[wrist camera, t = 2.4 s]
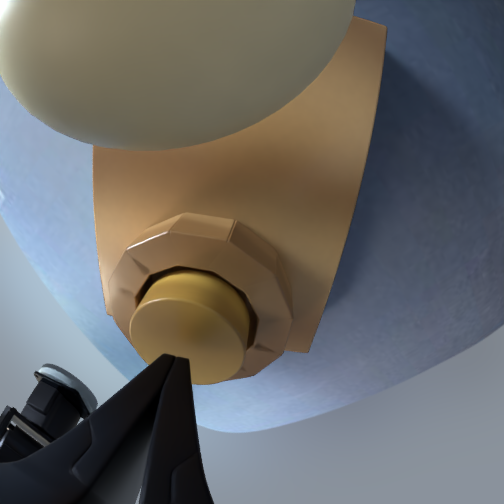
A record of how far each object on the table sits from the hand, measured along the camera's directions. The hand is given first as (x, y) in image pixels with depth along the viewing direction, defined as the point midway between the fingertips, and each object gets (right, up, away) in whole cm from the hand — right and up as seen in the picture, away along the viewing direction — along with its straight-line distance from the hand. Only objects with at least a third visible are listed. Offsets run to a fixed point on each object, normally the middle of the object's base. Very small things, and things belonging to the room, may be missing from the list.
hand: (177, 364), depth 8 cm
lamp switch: (0, +1, +2) cm, 3 cm away
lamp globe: (+1, +9, -2) cm, 9 cm away
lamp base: (+1, +7, +3) cm, 8 cm away
